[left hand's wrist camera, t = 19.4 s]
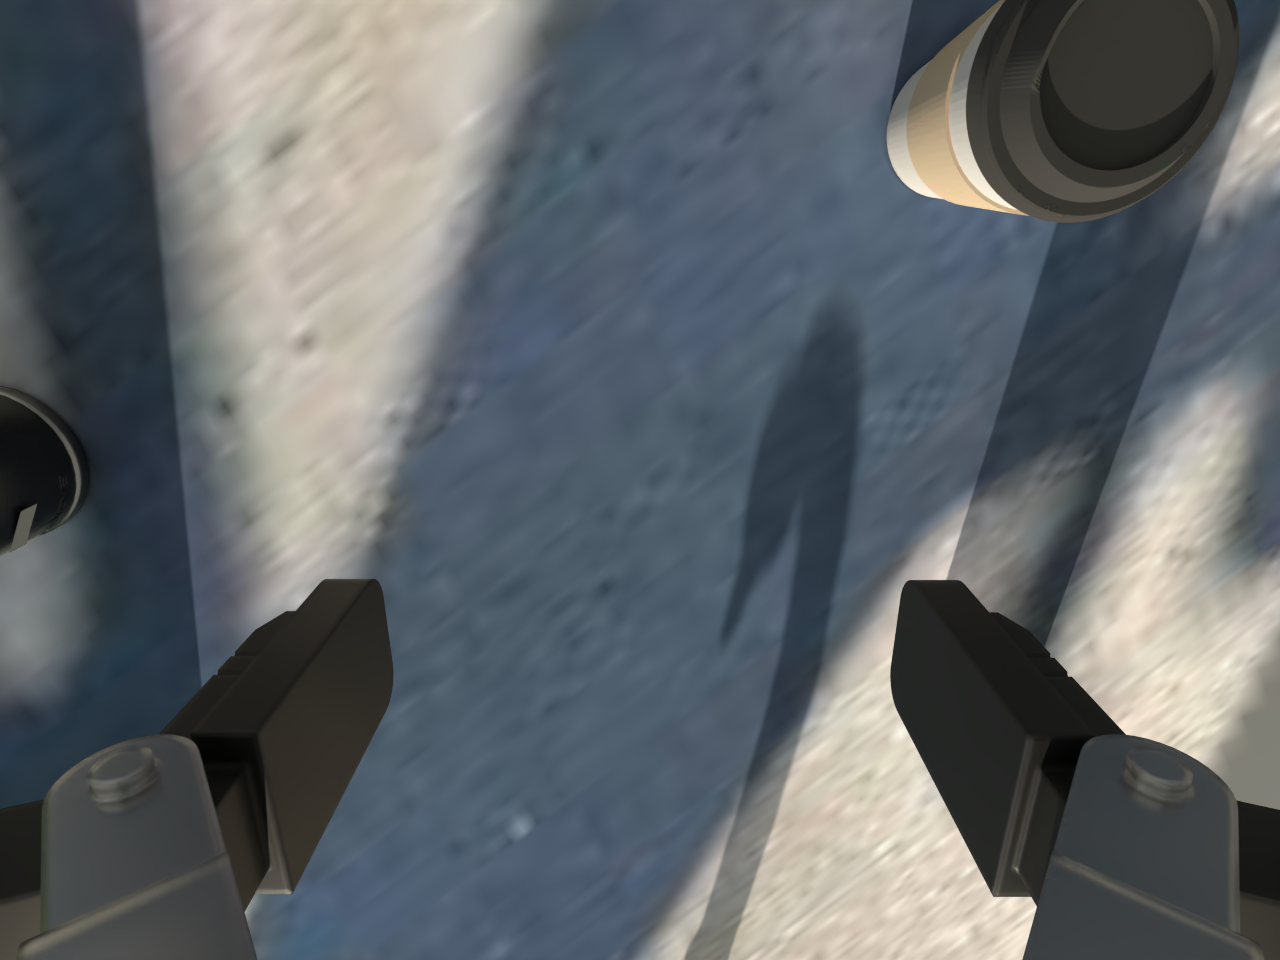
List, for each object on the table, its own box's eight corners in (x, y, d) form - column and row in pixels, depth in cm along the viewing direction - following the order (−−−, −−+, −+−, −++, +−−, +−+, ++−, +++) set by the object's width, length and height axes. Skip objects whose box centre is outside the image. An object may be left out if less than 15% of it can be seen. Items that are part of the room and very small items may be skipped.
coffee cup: (1077, 86, 37) (1346, 7, 23) (970, 251, 40) (1152, 271, 26) (931, -11, 36) (1123, -158, 21) (831, 167, 38) (942, 140, 24)
